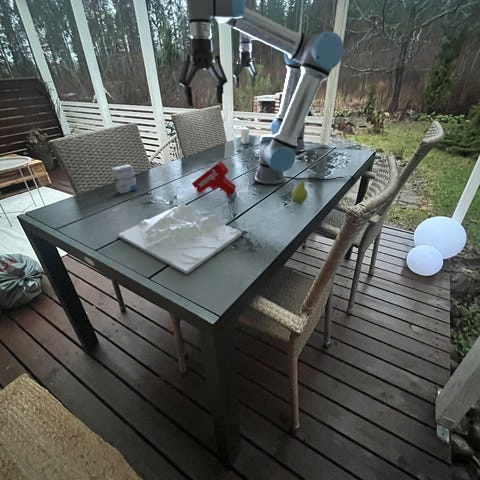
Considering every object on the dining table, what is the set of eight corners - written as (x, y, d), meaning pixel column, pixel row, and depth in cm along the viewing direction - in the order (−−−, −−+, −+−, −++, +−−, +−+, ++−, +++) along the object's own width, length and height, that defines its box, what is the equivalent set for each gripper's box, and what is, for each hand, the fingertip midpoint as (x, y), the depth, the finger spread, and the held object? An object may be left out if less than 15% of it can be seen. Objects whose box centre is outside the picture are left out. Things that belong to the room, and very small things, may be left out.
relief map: (186, 274, 80) (184, 260, 77) (118, 236, 97) (114, 224, 95) (241, 234, 98) (241, 222, 95) (176, 209, 116) (174, 198, 113)
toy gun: (240, 187, 127) (221, 160, 123) (237, 190, 124) (218, 163, 120) (214, 205, 137) (195, 180, 133) (210, 208, 134) (191, 183, 130)
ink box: (133, 186, 138) (127, 163, 132) (137, 189, 135) (132, 165, 129) (116, 191, 133) (110, 167, 127) (121, 194, 130) (114, 170, 124)
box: (240, 142, 216) (240, 128, 210) (245, 142, 218) (245, 127, 212) (244, 144, 213) (244, 129, 207) (249, 143, 215) (249, 128, 209)
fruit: (288, 200, 123) (290, 174, 116) (302, 197, 125) (305, 172, 119) (296, 206, 118) (299, 179, 111) (310, 203, 120) (314, 177, 114)
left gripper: (173, 36, 88) (181, 107, 100) (235, 39, 101) (236, 102, 112) (164, 37, 93) (172, 106, 105) (224, 40, 106) (226, 101, 117)
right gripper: (233, 50, 174) (234, 88, 186) (263, 51, 187) (262, 86, 198) (227, 51, 179) (228, 87, 191) (256, 52, 192) (255, 86, 203)
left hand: (205, 104), depth 109 cm, fingers open, 13 cm apart
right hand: (245, 87), depth 194 cm, fingers open, 13 cm apart
